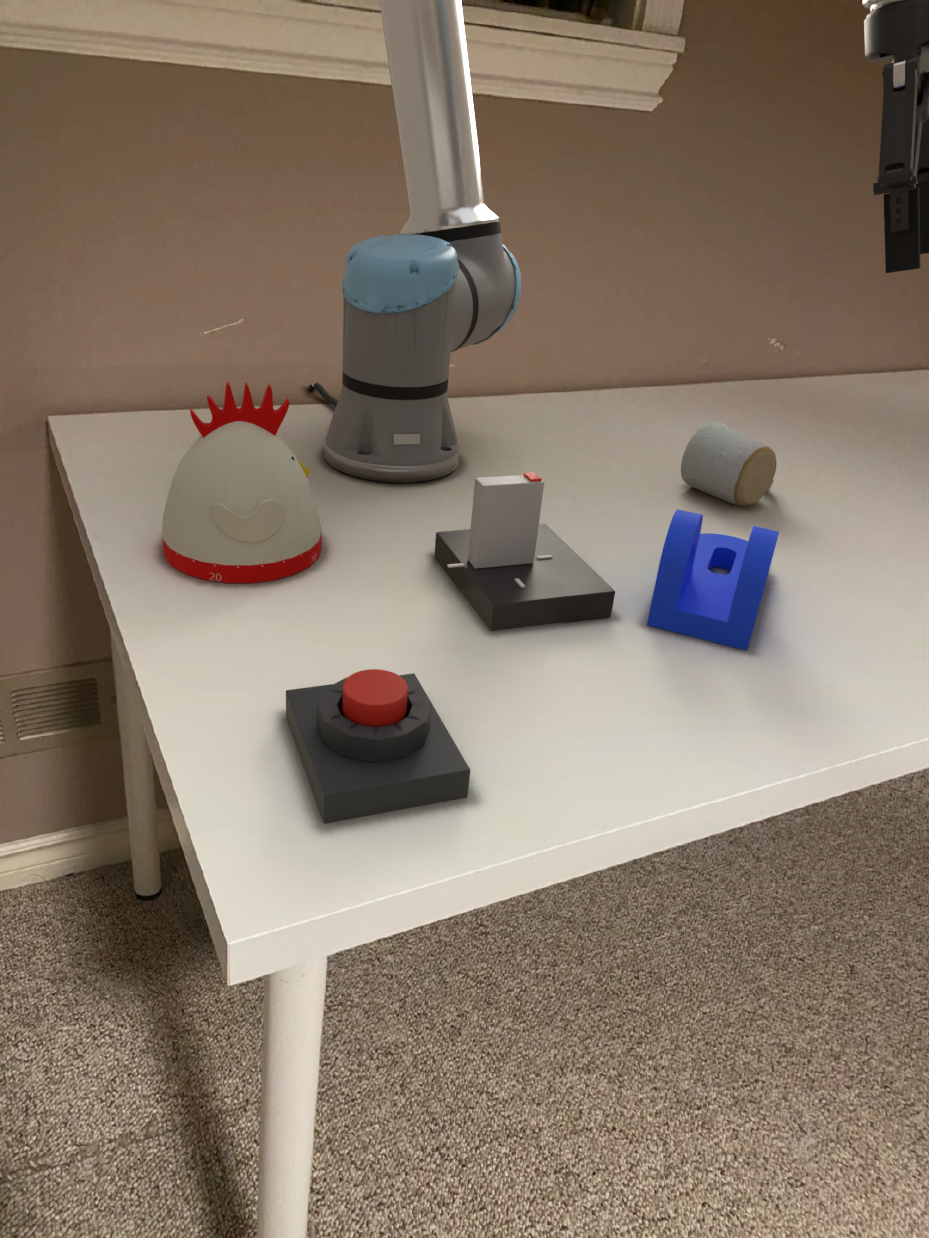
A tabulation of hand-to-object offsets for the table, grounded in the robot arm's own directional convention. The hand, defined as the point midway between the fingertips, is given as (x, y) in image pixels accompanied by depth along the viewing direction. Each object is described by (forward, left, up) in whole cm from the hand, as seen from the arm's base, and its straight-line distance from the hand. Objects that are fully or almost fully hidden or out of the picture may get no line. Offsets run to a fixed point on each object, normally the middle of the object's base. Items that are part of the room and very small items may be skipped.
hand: (915, 261), depth 88 cm
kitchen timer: (-6, -62, -27) cm, 68 cm away
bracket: (+11, -23, -27) cm, 37 cm away
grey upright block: (+6, -42, -24) cm, 49 cm away
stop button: (+26, -59, -23) cm, 68 cm away
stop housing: (+26, -59, -27) cm, 70 cm away
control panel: (+6, -40, -27) cm, 49 cm away
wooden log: (-10, -7, -27) cm, 30 cm away
